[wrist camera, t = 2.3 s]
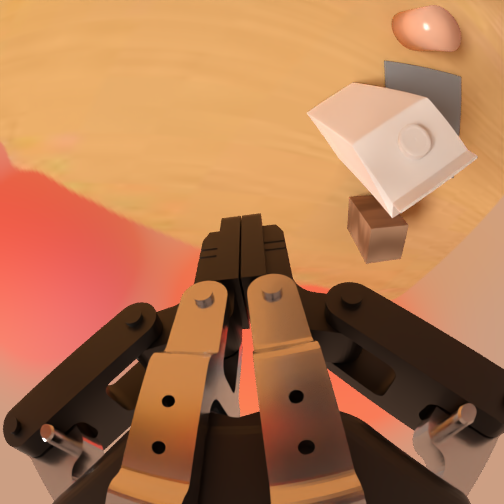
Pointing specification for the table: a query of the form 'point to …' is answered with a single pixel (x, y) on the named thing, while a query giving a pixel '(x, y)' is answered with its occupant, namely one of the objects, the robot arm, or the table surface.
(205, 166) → the table surface
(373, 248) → the wooden block
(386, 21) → the table surface
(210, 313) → the robot arm
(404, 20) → the pink rounded glossy part
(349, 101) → the milk carton
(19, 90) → the table surface
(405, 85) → the mat
